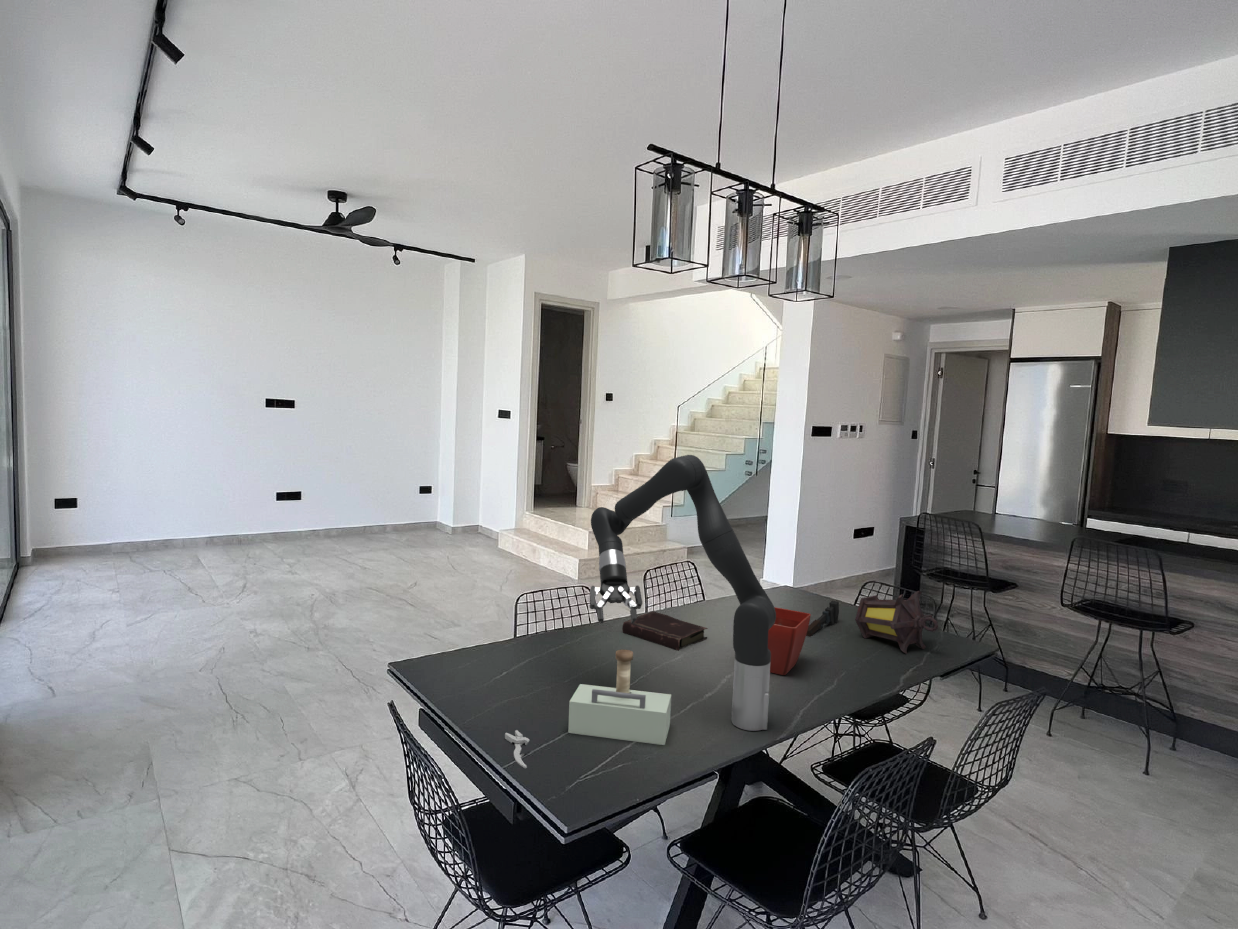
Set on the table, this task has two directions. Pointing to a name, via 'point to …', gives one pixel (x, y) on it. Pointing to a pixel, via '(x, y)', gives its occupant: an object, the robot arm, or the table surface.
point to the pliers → (517, 745)
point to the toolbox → (620, 714)
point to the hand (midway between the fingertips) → (617, 622)
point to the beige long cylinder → (623, 670)
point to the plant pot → (787, 639)
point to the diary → (664, 630)
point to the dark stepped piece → (825, 618)
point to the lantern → (894, 620)
